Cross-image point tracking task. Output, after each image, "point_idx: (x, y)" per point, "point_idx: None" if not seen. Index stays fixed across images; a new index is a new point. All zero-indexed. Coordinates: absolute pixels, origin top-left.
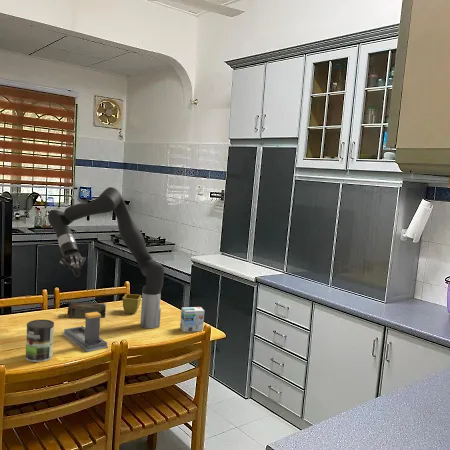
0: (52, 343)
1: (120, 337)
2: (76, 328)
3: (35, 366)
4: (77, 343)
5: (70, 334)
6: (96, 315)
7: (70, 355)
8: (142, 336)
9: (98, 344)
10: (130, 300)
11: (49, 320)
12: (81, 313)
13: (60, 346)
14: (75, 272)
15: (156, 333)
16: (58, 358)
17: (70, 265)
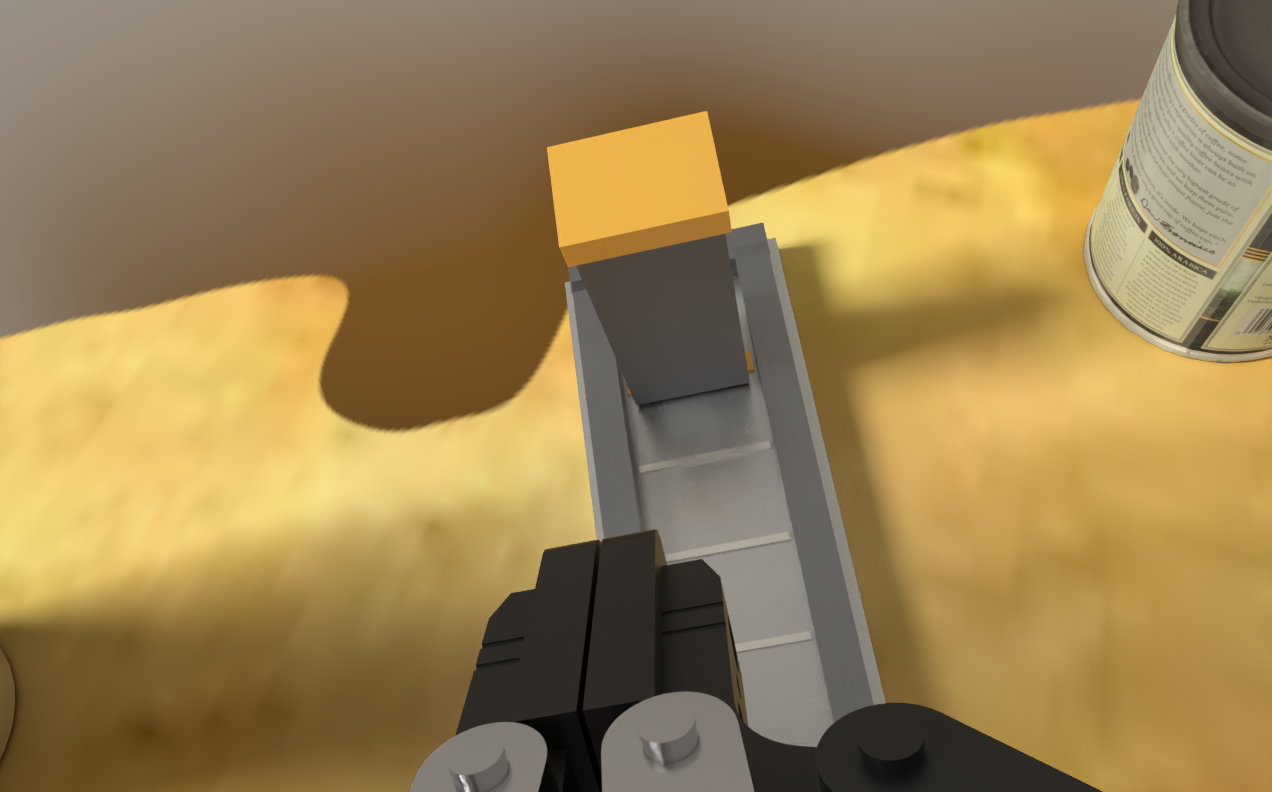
0: (1127, 133)
1: (360, 492)
2: None
3: None
4: (815, 408)
5: (849, 605)
6: (609, 138)
7: (923, 221)
8: (171, 452)
9: None
10: None
11: (1242, 99)
12: None
13: (983, 443)
14: (693, 613)
15: (20, 485)
16: (1035, 190)
17: (900, 762)
